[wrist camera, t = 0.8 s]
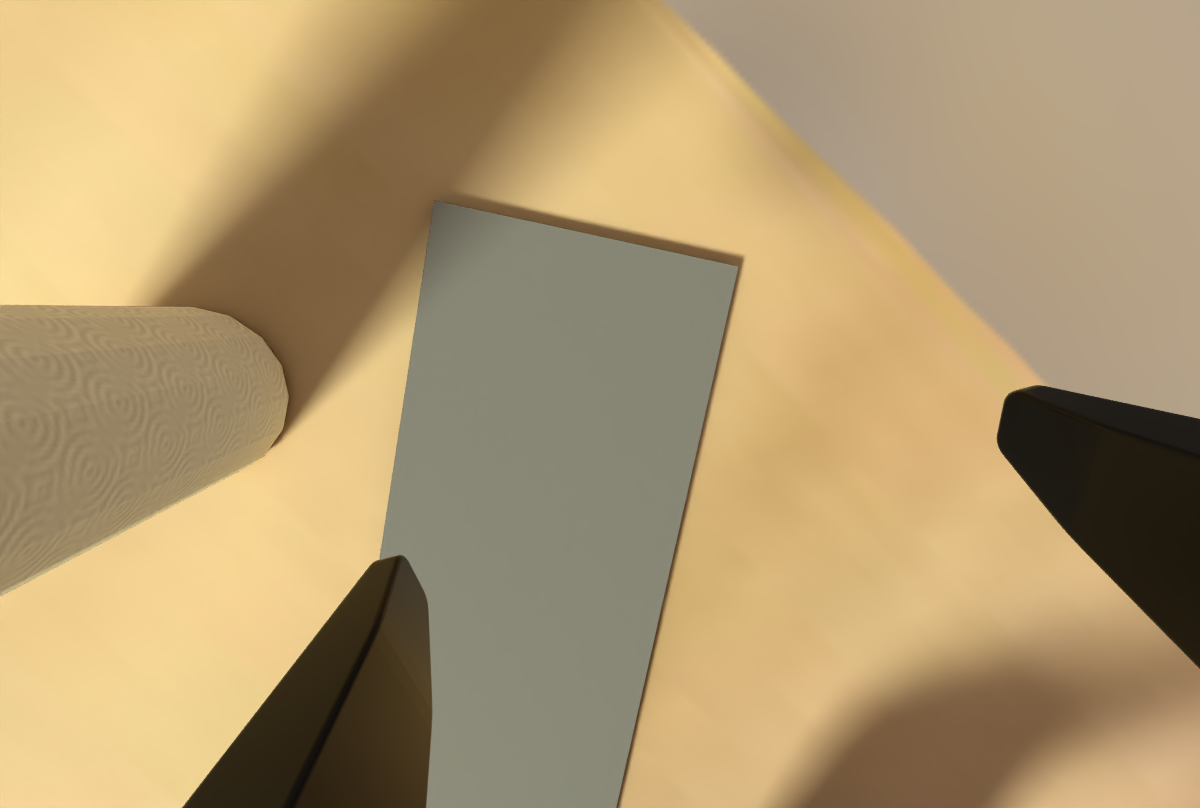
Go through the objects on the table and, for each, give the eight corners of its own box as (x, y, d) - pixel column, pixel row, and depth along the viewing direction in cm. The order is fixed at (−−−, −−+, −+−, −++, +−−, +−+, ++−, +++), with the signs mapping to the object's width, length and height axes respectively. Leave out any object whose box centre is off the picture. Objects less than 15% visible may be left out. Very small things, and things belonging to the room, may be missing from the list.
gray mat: (608, 827, 25) (609, 837, 25) (344, 802, 24) (340, 812, 23) (734, 267, 22) (738, 266, 21) (436, 203, 21) (434, 200, 20)
